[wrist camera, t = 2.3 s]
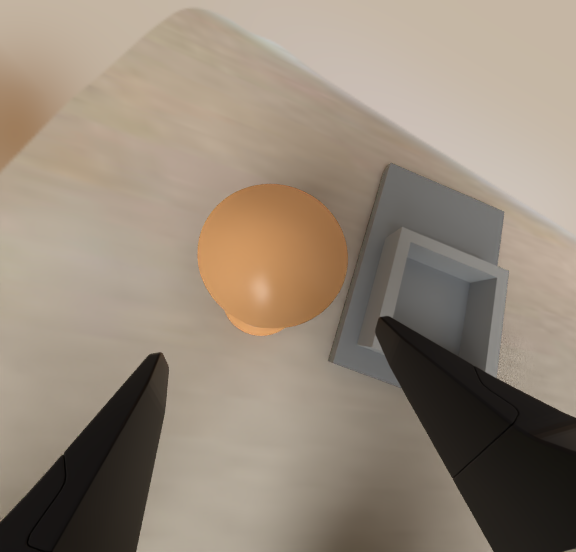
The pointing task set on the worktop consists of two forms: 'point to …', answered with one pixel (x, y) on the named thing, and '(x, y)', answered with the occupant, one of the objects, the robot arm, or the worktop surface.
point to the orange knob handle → (272, 257)
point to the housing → (425, 275)
